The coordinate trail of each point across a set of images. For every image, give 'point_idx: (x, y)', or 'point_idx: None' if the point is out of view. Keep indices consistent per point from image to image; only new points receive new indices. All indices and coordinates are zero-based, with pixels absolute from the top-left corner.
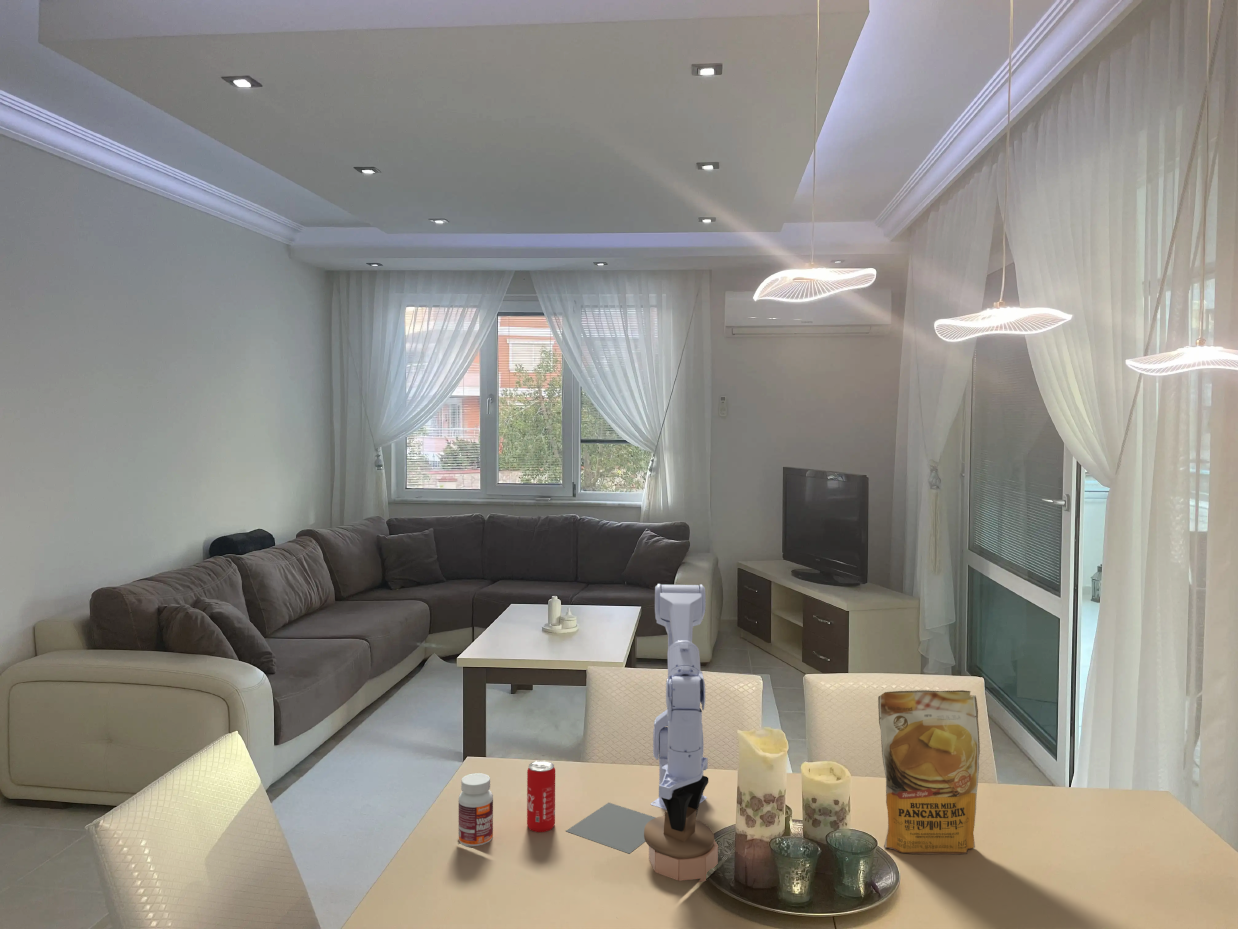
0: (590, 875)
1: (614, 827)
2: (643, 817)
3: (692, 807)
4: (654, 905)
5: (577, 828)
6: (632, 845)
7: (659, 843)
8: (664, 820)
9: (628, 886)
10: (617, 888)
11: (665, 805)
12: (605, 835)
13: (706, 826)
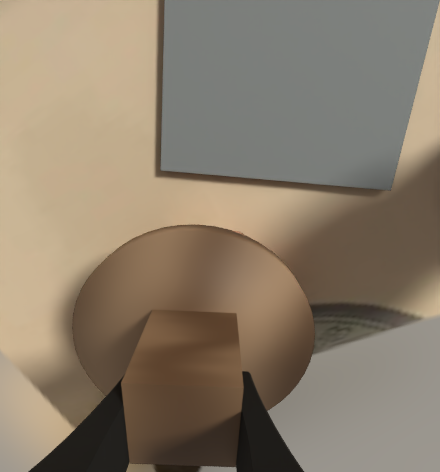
0: (18, 119)
1: (283, 36)
2: (390, 97)
3: (239, 456)
4: (22, 315)
5: None
6: (206, 155)
7: (89, 323)
8: (136, 347)
9: (44, 235)
10: (19, 216)
11: (35, 467)
12: (216, 38)
13: (286, 390)
